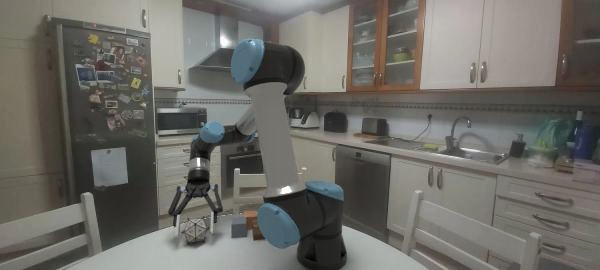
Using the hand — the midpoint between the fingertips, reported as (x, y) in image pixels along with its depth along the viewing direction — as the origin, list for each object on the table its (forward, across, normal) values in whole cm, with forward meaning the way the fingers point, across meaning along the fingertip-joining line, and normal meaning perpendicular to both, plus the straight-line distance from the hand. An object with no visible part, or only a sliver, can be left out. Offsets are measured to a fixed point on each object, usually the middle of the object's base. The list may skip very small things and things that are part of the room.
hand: (194, 234), depth 84 cm
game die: (+1, 0, -5) cm, 5 cm away
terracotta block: (-4, -18, -10) cm, 21 cm away
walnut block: (+1, -21, -4) cm, 21 cm away
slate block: (-1, -14, -6) cm, 15 cm away
